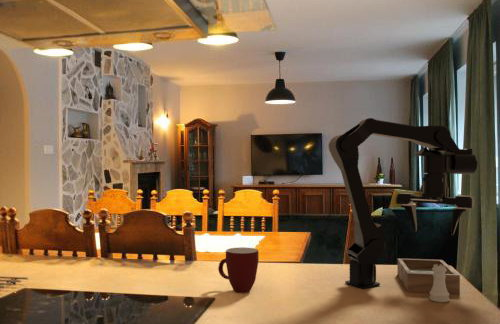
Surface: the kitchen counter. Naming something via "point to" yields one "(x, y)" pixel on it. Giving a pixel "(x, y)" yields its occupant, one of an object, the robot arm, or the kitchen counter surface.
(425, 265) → the bore tray
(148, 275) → the kitchen counter surface
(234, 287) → the mug
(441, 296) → the rook chess piece
